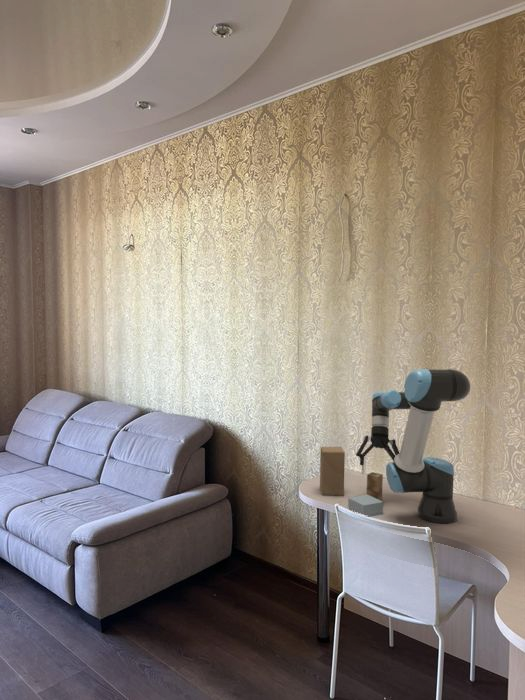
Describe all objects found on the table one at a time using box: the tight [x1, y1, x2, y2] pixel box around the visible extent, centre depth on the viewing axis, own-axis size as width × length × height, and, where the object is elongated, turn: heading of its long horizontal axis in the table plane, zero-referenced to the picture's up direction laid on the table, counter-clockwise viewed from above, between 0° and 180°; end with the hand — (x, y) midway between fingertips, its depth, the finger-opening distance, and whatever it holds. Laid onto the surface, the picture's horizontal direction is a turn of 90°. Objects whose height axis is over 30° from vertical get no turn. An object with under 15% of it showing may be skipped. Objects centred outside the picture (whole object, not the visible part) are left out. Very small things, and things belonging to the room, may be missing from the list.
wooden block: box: [319, 446, 346, 496], centre depth 233 cm, size 10×10×20 cm
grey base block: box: [347, 494, 384, 517], centre depth 210 cm, size 10×10×5 cm
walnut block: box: [366, 471, 384, 502], centre depth 221 cm, size 5×5×12 cm
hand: (378, 475), depth 219 cm, fingers open, 13 cm apart
